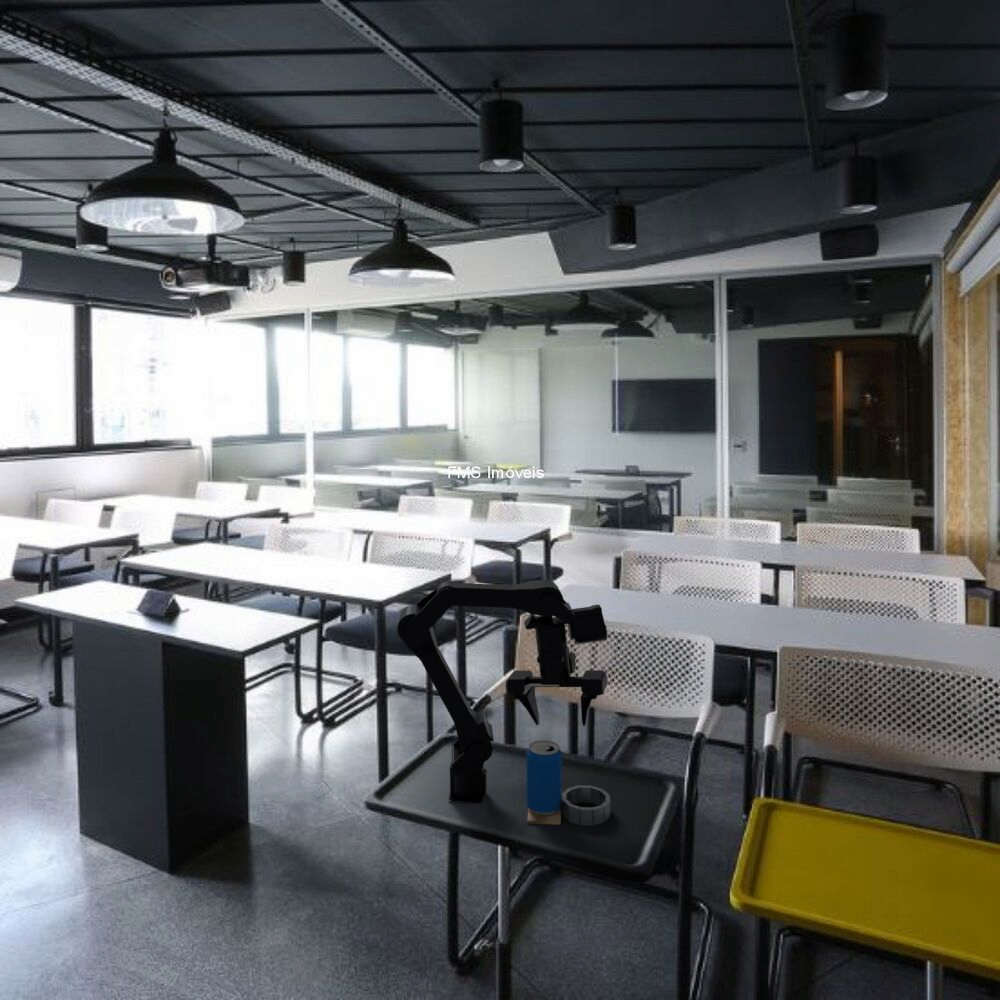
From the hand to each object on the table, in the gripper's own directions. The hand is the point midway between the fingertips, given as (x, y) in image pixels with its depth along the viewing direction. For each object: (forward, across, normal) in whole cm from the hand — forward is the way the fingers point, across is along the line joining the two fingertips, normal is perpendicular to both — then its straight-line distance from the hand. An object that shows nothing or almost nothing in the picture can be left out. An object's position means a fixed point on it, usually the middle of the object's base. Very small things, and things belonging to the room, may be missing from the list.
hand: (561, 724), depth 158 cm
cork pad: (+13, +3, +9) cm, 16 cm away
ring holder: (+14, -5, +7) cm, 16 cm away
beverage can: (+13, +3, +9) cm, 16 cm away
